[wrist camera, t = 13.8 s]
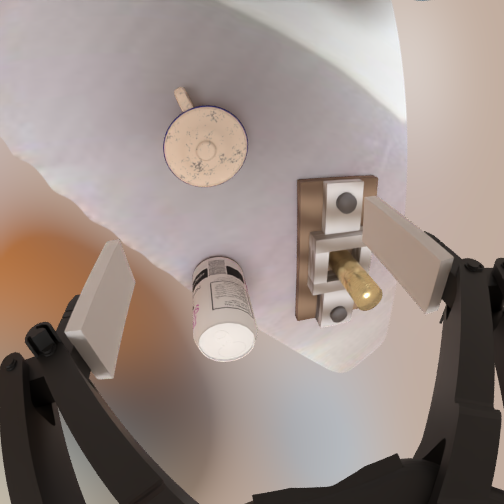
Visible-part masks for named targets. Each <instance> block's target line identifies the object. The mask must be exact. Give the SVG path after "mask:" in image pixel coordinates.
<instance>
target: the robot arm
mask: <svg viewBox="0 0 504 504" xmlns="http://www.w3.org/2000/svg"><path fill="white" fill-rule="evenodd" d="M418 1H425V0H418ZM362 242H363V243H364V244H365V245H366V246H367V247H368V248H369V249H370V250H371V252H372V253H373V254H374V255H375V256H376V257H377V258H378V259H379V260H380V262H381V263H382V264H383V265H384V266H385V267H386V268H387V269H388V271H389V272H390V273H391V274H392V275H393V276H394V277H395V279H396V280H397V281H398V282H399V283H400V284H401V285H402V287H403V288H404V289H405V290H406V292H407V293H408V294H409V295H410V296H411V298H412V299H413V300H414V301H415V302H416V304H417V305H418V306H419V307H420V309H421V310H422V311H423V312H424V313H425V314H428V313H431V312H433V311H436V310H438V308H439V305H440V303H441V300H443V301H444V302H445V303H446V307H445V309H444V312H443V315H442V318H441V320H440V323H442V321H443V330H442V340H441V348H440V357H439V363H438V370H437V376H436V382H435V387H434V392H433V397H432V402H431V407H430V411H429V415H428V420H427V423H426V428H425V431H424V435H423V438H422V441H421V443H420V445H419V447H418V449H417V451H416V453H415V455H414V457H413V459H412V458H408V459H400V458H399V456H398V454H394V455H392V456H390V457H387V458H385V459H383V460H380V461H377V462H375V463H372V464H370V465H367V466H365V467H363V468H362V469H360V470H358V471H357V472H355V473H354V474H352V475H350V476H349V477H347V478H346V479H344V480H342V481H340V482H339V483H337V484H335V485H333V486H330V487H315V488H288V489H283V490H278V491H273V492H267V493H261V494H255V495H252V497H253V501H251V502H248V503H246V504H504V491H503V490H500V489H498V488H495V487H492V481H493V477H494V472H495V466H496V460H497V454H498V447H499V439H500V429H501V412H500V410H495V409H494V407H493V403H494V375H495V374H494V373H495V367H496V371H497V376H498V380H499V385H500V390H501V395H502V401H503V406H504V258H498V259H496V261H495V264H494V267H493V268H484V266H483V265H482V264H481V263H479V262H478V261H476V260H473V259H469V258H465V259H461V258H460V257H459V256H458V255H456V254H455V253H454V252H453V251H452V250H451V249H449V248H448V247H447V246H445V244H444V243H442V242H440V240H439V239H437V238H436V237H435V236H434V235H432V234H430V233H427V232H425V231H422V230H421V229H420V228H418V227H417V226H416V225H414V224H413V223H412V222H411V221H409V220H408V219H407V218H406V217H404V216H403V215H402V214H401V213H399V212H398V211H397V210H395V209H394V208H393V207H391V206H390V205H388V204H387V203H386V202H384V201H383V200H382V199H380V198H379V197H377V196H369V197H365V198H364V218H363V233H362ZM134 285H135V280H134V277H133V274H132V272H131V269H130V266H129V264H128V261H127V258H126V256H125V253H124V250H123V247H122V244H121V241H120V239H117V240H112V241H108V242H106V244H105V246H104V248H103V250H102V252H101V254H100V256H99V257H98V259H97V262H96V263H95V265H94V267H93V270H92V271H91V274H90V275H89V277H88V279H87V281H86V284H85V286H84V288H83V290H82V292H81V294H80V295H76V296H75V297H74V298H73V299H72V300H71V301H70V302H69V304H68V306H67V308H66V310H65V313H64V314H63V317H62V318H63V319H61V321H60V323H59V326H58V328H57V330H56V331H55V330H54V329H53V327H52V325H51V324H50V323H48V322H42V323H39V324H37V325H35V326H34V327H32V328H31V329H30V330H29V332H28V333H27V335H26V337H25V343H26V345H27V346H28V347H29V349H30V350H31V351H32V353H33V354H34V356H35V357H32V358H29V359H26V360H25V359H24V358H23V357H22V355H21V354H20V353H16V352H15V353H11V354H10V355H8V356H7V357H5V358H4V360H3V362H2V364H1V366H0V435H1V446H2V454H3V462H4V468H5V475H6V481H7V486H8V491H9V496H10V500H11V504H86V503H85V500H84V498H83V495H82V492H81V490H80V487H79V484H78V481H77V478H76V475H75V472H74V469H73V467H72V463H71V460H70V456H69V453H68V449H67V446H66V442H65V438H64V434H63V430H62V426H61V421H60V417H59V412H58V408H59V410H60V412H61V414H62V416H63V418H64V420H65V422H66V424H67V425H68V427H69V429H70V431H71V433H72V434H73V436H74V438H75V440H76V441H77V443H78V445H79V446H80V448H81V450H82V451H83V453H84V454H85V456H86V458H87V459H88V461H89V462H90V464H91V465H92V467H93V468H94V470H95V471H96V473H97V474H98V476H99V477H100V479H101V480H102V481H103V483H104V484H105V485H106V487H107V488H108V490H109V491H110V492H111V493H112V495H113V496H114V497H115V499H116V500H117V501H118V502H119V504H199V503H198V502H196V501H195V500H194V499H193V498H192V497H190V496H189V495H188V494H187V493H186V492H185V491H184V490H183V489H182V488H181V487H180V486H179V485H177V484H176V482H174V481H173V480H172V479H171V478H170V477H169V476H168V475H167V474H166V473H165V472H164V471H163V470H162V469H161V468H160V466H159V465H158V464H157V463H156V462H155V461H154V460H153V459H152V458H151V457H150V456H149V455H148V454H147V452H146V451H145V450H144V449H143V448H142V447H141V446H140V445H139V443H138V442H137V441H136V440H135V439H134V438H133V436H132V435H131V434H130V433H129V432H128V430H127V429H126V428H125V426H124V425H123V424H122V423H121V422H120V420H119V419H118V418H117V417H116V415H115V414H114V412H113V411H112V410H111V408H110V407H109V406H108V404H107V403H106V402H105V400H104V399H103V398H102V396H101V395H100V394H99V392H98V390H97V389H96V387H95V386H94V385H93V383H92V382H91V380H90V379H89V375H90V372H91V371H92V373H93V374H94V375H95V377H96V378H97V379H113V377H114V372H115V366H116V361H117V356H118V352H119V347H120V342H121V338H122V333H123V329H124V324H125V321H126V316H127V312H128V308H129V304H130V300H131V296H132V293H133V289H134ZM494 363H495V364H494ZM57 406H58V407H57Z"/></svg>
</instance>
